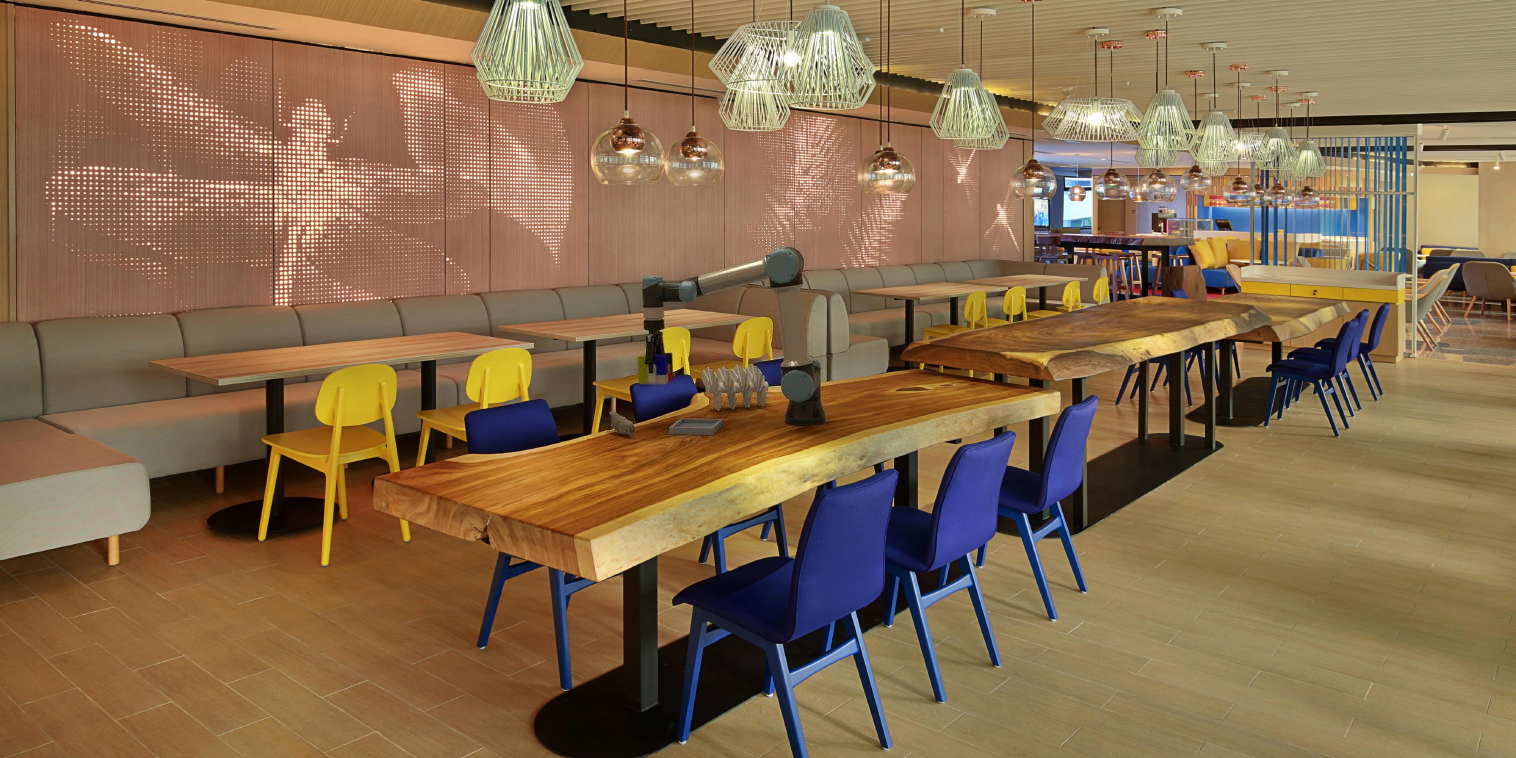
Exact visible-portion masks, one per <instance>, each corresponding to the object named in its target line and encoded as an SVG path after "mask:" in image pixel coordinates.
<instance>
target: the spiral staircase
mask: <svg viewBox="0 0 1516 758" xmlns="http://www.w3.org/2000/svg"><path fill="white" fill-rule="evenodd" d="M706 367H707V368H706V369H702V373H701V380H702V382H703V385H704V387H705V393H706V394H708V395H709V394H712V399H713V400H712V401H713V402H712V404H713V405H714V410H715V411H716V410H717V411H718V412H720V410H721V408H722V405H723V404H722V403H723V396H722V394H727V399H726V402H727V403H728V408H729V409H731V411H734V410H735V409H736V407H737V401H738V396H737V393H741V395H742V401H741V402H742V403H743V404H744V409H745V408H749V409H750V407H751V404H752V402H753V401H752V399H753V393H755V394H756V396H755V397H756V398H755V401H756V402H757V403H758V404H757V405H758V407H761V408H764V407H765V404H766V403H767V393H768V391H769V383H768V381H766V379H765V378H766V377H765V375H763V373H762V371H761V369H760V368H758V365H753V363H750V364H749V367H748V366H746V367H745V368H743V366H742V365H740V366H738V363H737V364H735V366H734V368H731V370H730V369H728V368H725V366H724V365H723V366H722V367H721V368H719V367H718V368H717V371H716V372H715V370H714V369H712V368H710V367H709V366H706Z"/></svg>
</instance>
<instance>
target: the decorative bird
mask: <svg viewBox="0 0 1516 758" xmlns="http://www.w3.org/2000/svg"><path fill="white" fill-rule="evenodd" d="M608 412H609V411H608ZM609 415H610V423H611V424H609V423H608V425H607V431H606V432H607V433H609V432H611V431H613V430H614V431H615V433H618V434H619V435H622V436H626V435H628V437H630V438H631V439H633V438H634V436H635V431H636V427H635V425H634V423H633V422H632V421H631V420H628V419H627V418H626V417H625V416H623V415H620V414H619V413H617V412H615V411H613V410H610V412H609Z"/></svg>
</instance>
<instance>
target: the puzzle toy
mask: <svg viewBox="0 0 1516 758" xmlns="http://www.w3.org/2000/svg"><path fill="white" fill-rule="evenodd" d="M645 359H646V352H645V353H643V354H640V355H638V356H637V369H638V371H637V372H638V384H639V385H667V384H668V383H670V382H672V381H673V380H674V364H673V363H674V362H673V360H674V359H673V352H665V353H655V361H654V364H655V369H656V382H648V366H647V364H645Z"/></svg>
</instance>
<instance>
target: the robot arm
mask: <svg viewBox="0 0 1516 758" xmlns="http://www.w3.org/2000/svg"><path fill="white" fill-rule="evenodd" d="M804 266H805V259H804V256H803V254H802V252H800V251H799V250H798V249H797V248H795V247H791V246H784V247H780V248H776V249H774V250H773V251H771V252H770V253H769V254H766V255H765V254H764V256H763V258H761V259H758V260H754V261H749V262H745V263H742V264H738V265H734V266H730V267H726V268H723V269H720V270H715V271H712V272H708V273H703V274H701V275H696V276H693V277H687V278H684V279H681V280H674V281H672V280H671V281H666V280H664V279H663V276H661V275H646V276H643V277H642V279H641V294H642V295H641V297H642V309H641V312H642V314H643V316H642V317H643V319H644V320H643V322H642V323H643V330H644V331H648V335H645V353H646V359H645V364H647V366H648V382H656V369H655V364H654V361H655V353H666V352H665V345H664V344H665V343H664V337H663V336H664V335H663V334H664V331H663V330H665V319H664V317H665V306H664V303H685V304H686V303H694V302H695V301H696V299H697V298H700V297H703V296H707V295H711V294H715V293H719V292H722V291H726V290H730V289H733V288H737V287H738V288H739V287H742V286H746V285H747V286H748V285H750V284H754V283H759V282H761V281H762V282H763V281H765V280H768V281H769V288H770V289H769V290H771V291H772V292H773V293H774V294H775V301H776V310H777V316H778V324H779V331H780V339H781V345H782V346H781V348H782V355H783V361H782V363H780V371H781V372H780V374H781V381H780V390H781V392H782V395H783V396H784V397H785V398H786V399H787V400H789V401H788V404H787V407H786V412H785V414H784V415H785V416H784V422H785V423H786V424H789V425H794V426H815V425H822V424H825V423H827V419H826V418H827V417H826V416H827V415H826V413H825V409H824V405H823V403H822V397H821V396H822V384H821V382H822V380H821V374H822V373H821V370H822V367H821V362H820V361H819V360H815V359H814V360H812V359H811V358H810V357H809V354H808V346H807V340H806V339H807V337H806V331H805V322H804V314H803V308H802V307H803V306H802V300H801V299H802V298H801V290H800V289H801V288H802V287H803V285H804V281H803V280H804V278H803V270H804V268H805V267H804Z"/></svg>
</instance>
